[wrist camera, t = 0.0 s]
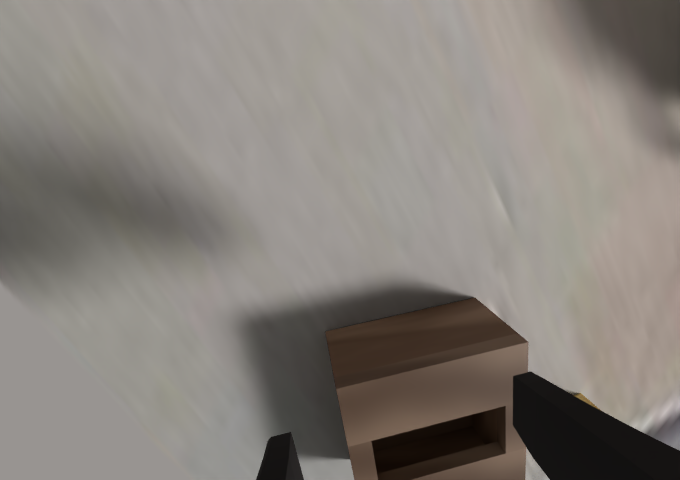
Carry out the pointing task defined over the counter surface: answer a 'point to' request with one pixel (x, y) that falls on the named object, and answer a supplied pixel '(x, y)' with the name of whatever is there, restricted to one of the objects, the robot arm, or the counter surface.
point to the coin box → (430, 394)
